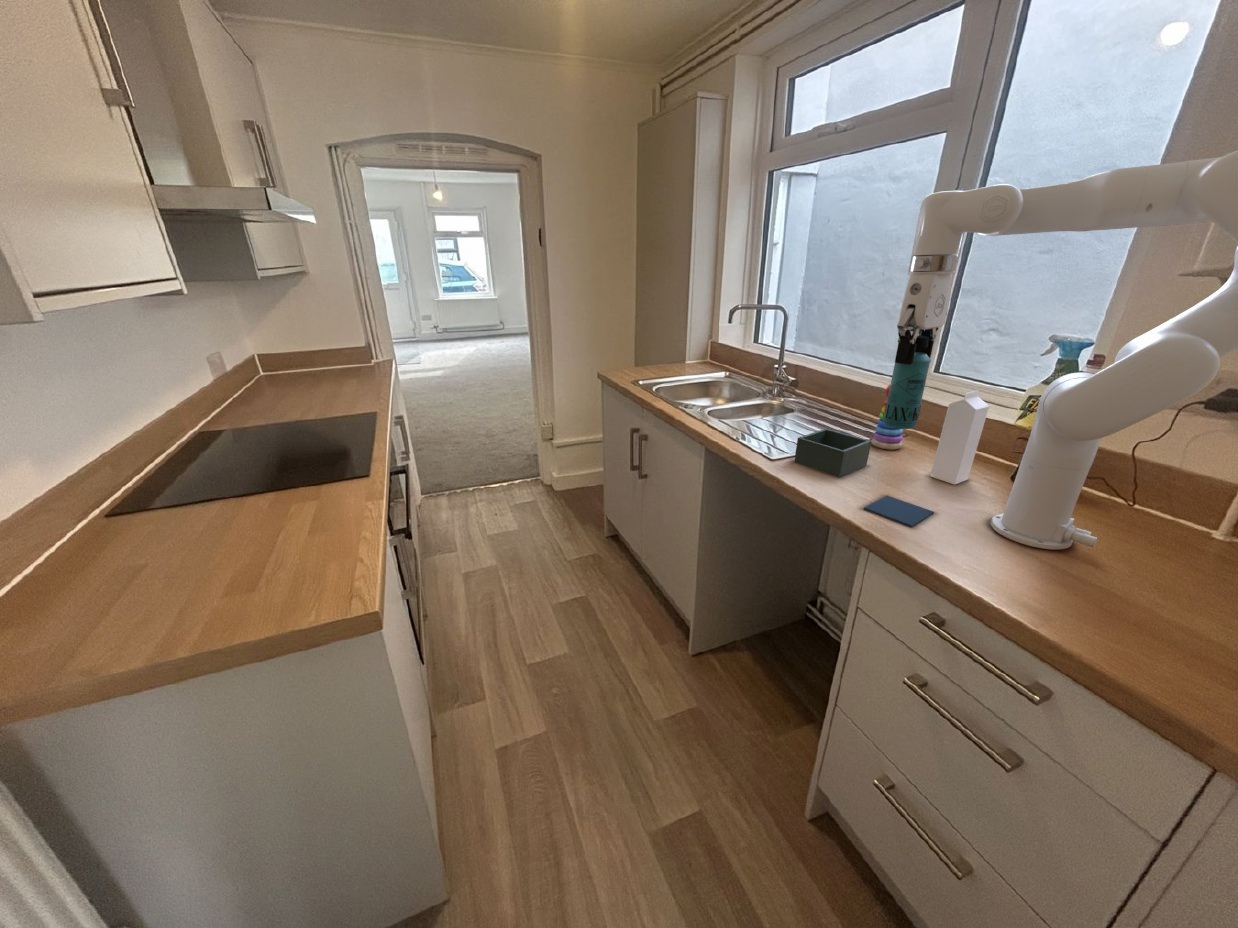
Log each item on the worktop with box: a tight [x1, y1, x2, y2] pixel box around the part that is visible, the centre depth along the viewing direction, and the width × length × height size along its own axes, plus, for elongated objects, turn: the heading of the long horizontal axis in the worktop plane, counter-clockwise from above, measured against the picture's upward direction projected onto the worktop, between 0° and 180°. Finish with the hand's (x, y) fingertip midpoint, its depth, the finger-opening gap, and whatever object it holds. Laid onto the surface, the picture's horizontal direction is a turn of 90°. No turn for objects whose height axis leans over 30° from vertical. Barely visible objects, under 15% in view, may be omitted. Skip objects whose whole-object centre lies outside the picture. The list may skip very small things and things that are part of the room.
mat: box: [863, 495, 935, 528], centre depth 104 cm, size 10×10×1 cm
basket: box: [793, 428, 872, 478], centre depth 128 cm, size 13×13×7 cm
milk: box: [929, 389, 990, 485], centre depth 116 cm, size 6×6×22 cm
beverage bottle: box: [883, 335, 932, 430], centre depth 99 cm, size 6×7×20 cm
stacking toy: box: [871, 383, 904, 451], centre depth 138 cm, size 8×8×19 cm
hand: (912, 360), depth 98 cm, fingers closed on beverage bottle, 6 cm apart
